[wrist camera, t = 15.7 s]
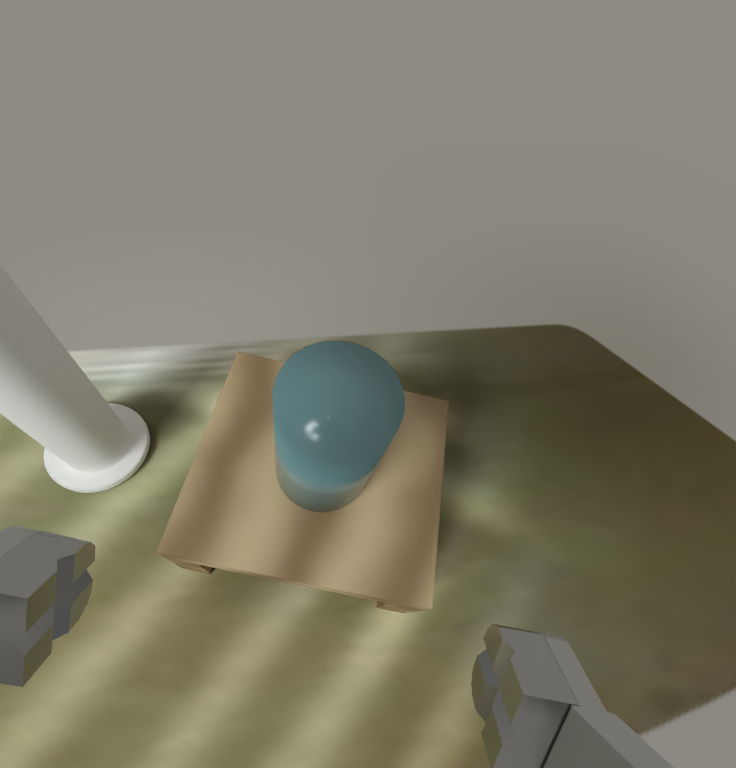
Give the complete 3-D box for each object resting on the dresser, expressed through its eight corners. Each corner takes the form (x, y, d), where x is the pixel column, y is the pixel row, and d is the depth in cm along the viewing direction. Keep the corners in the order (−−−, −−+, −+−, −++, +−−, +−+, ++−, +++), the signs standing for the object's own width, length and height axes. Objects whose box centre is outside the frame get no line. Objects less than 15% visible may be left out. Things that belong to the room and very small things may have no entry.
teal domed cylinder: (263, 500, 26) (254, 441, 18) (289, 414, 29) (292, 327, 21) (358, 521, 27) (395, 474, 18) (374, 434, 30) (412, 357, 21)
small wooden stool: (181, 567, 30) (156, 552, 24) (244, 396, 37) (237, 351, 31) (403, 613, 31) (432, 608, 25) (423, 437, 38) (448, 401, 32)
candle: (133, 393, 36) (-93, 37, 14) (163, 465, 33) (-55, 166, 12) (36, 429, 33) (-424, 57, 11) (62, 511, 30) (-463, 230, 9)
